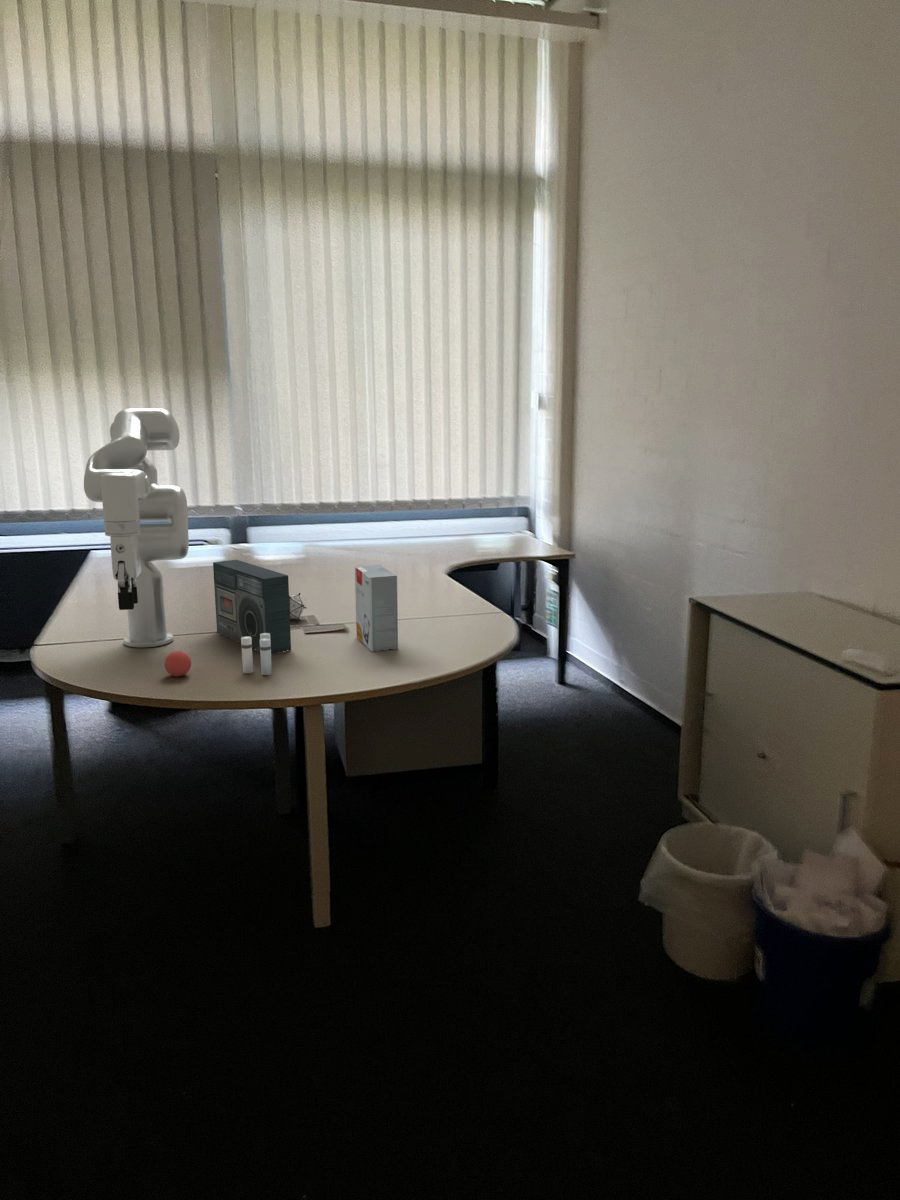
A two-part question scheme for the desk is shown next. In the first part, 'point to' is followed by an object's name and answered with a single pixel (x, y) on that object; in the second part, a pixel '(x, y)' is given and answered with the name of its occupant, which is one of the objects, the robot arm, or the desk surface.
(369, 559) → the desk surface
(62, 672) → the desk surface
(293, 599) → the game die
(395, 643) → the hard drive box
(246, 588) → the cassette player
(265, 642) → the back right pin
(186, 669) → the ball
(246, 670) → the front pin
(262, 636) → the back left pin
